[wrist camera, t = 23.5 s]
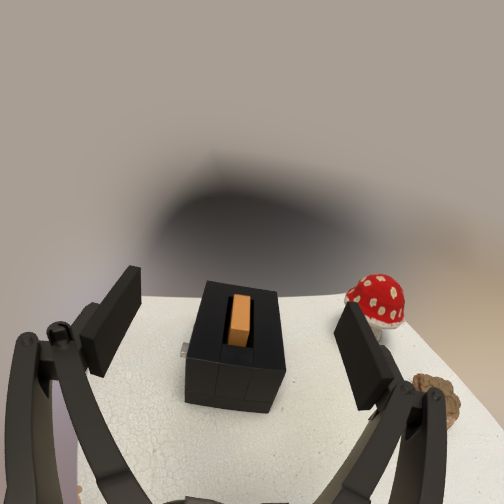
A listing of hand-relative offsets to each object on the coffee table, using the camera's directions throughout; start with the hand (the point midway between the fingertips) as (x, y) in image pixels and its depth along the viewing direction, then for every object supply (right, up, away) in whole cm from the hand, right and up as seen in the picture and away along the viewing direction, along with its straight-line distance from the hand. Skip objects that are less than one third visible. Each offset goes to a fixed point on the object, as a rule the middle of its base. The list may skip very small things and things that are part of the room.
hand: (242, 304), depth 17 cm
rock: (+32, -26, +19) cm, 45 cm away
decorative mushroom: (+24, -15, +38) cm, 47 cm away
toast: (-2, -13, +25) cm, 28 cm away
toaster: (-3, -15, +26) cm, 31 cm away
